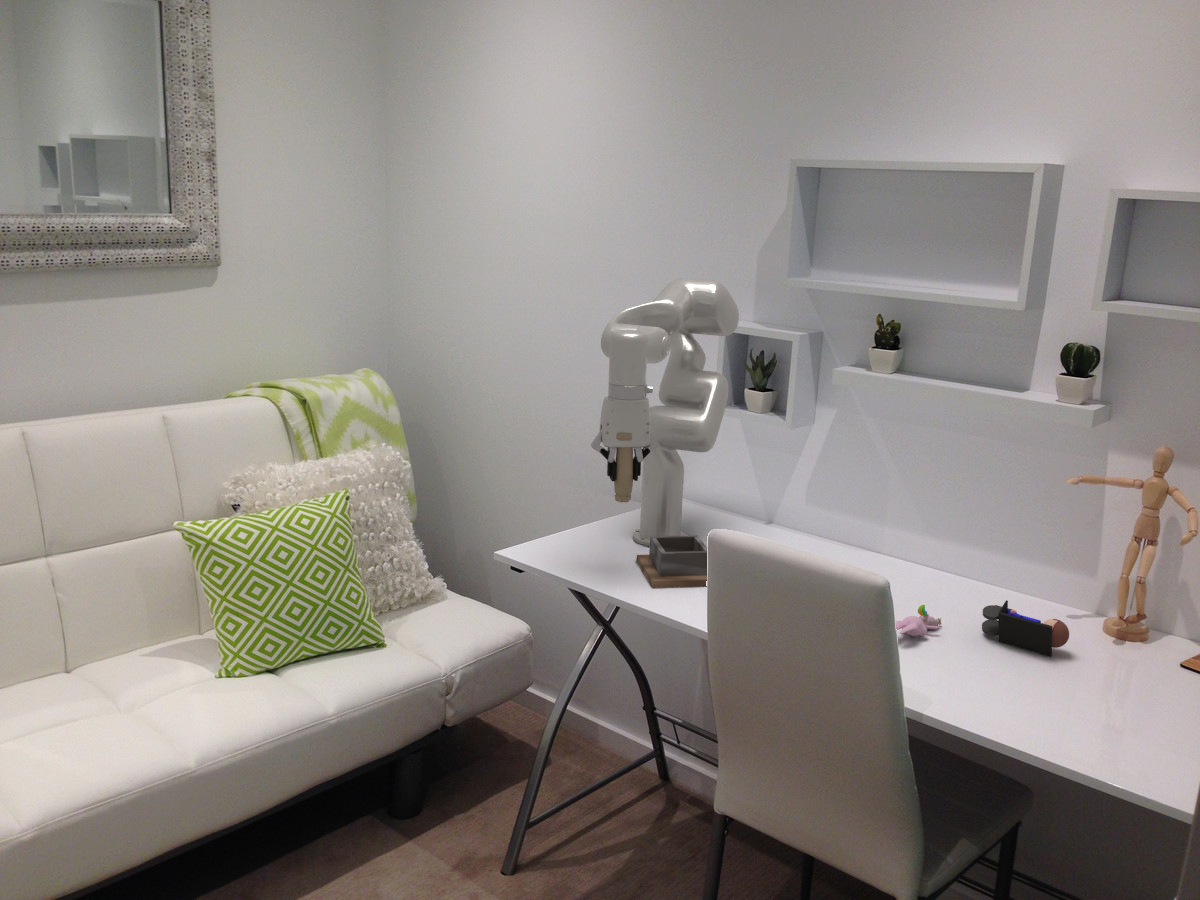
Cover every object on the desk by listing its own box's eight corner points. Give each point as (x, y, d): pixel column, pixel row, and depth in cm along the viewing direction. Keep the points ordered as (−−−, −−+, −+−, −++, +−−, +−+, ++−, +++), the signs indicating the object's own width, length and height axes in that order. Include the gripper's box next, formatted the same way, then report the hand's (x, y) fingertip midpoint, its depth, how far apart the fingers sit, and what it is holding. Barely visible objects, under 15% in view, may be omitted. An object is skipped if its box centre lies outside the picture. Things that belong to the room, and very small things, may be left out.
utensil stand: (636, 561, 227) (637, 533, 226) (702, 559, 230) (704, 531, 228) (652, 588, 212) (653, 558, 210) (723, 586, 215) (725, 556, 213)
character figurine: (987, 630, 198) (1069, 655, 188) (972, 638, 192) (1055, 665, 183) (993, 591, 196) (1076, 614, 187) (979, 598, 191) (1063, 622, 181)
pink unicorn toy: (917, 626, 201) (879, 635, 190) (922, 596, 200) (885, 604, 190) (947, 636, 197) (910, 646, 186) (953, 606, 196) (916, 614, 185)
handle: (642, 500, 215) (645, 430, 212) (619, 506, 211) (622, 434, 207) (626, 495, 219) (628, 426, 215) (603, 500, 215) (605, 430, 211)
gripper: (663, 388, 214) (659, 473, 219) (583, 388, 212) (580, 475, 216) (671, 395, 207) (667, 483, 212) (588, 395, 204) (586, 485, 209)
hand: (623, 478), depth 214 cm, fingers closed on handle, 4 cm apart
